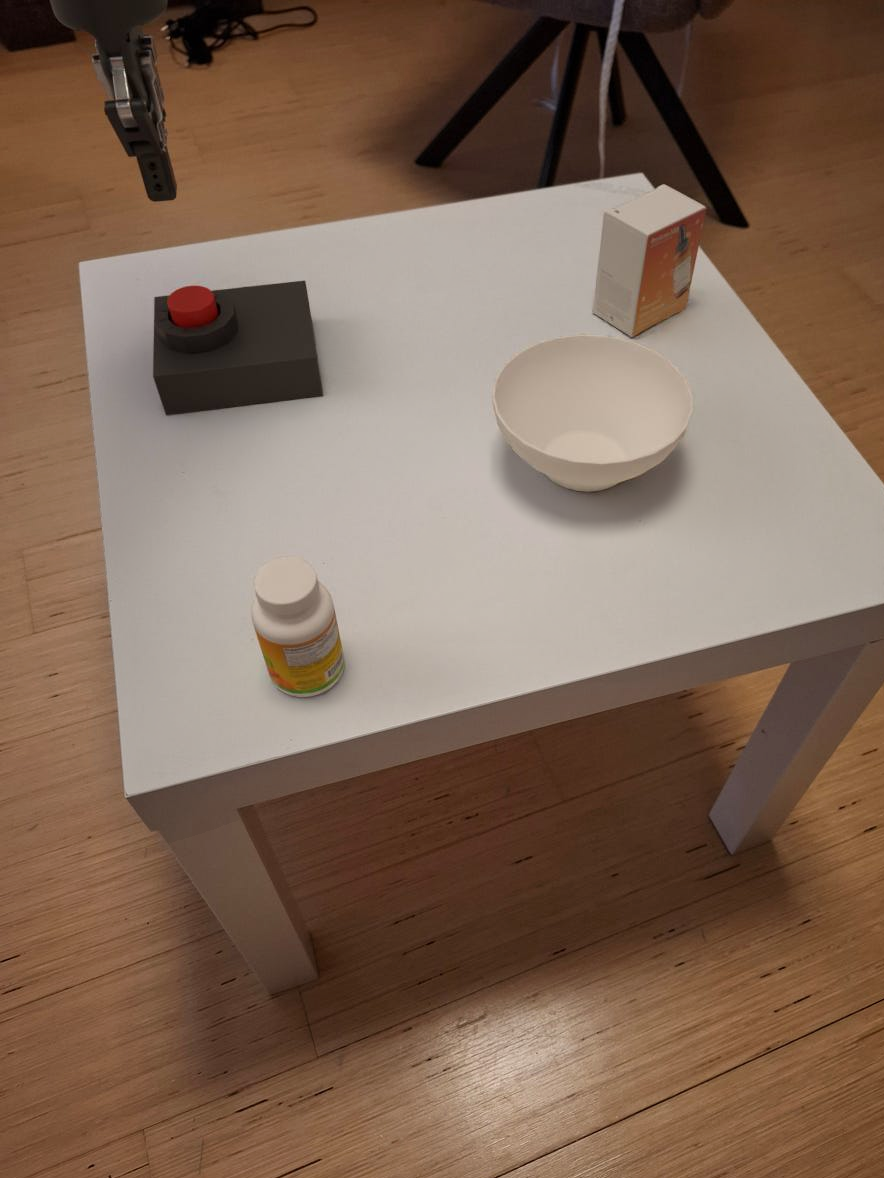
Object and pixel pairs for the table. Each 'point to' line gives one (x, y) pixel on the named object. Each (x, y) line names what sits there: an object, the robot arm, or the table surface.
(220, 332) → the red push button box
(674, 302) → the small box
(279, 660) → the supplement bottle
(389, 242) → the table surface
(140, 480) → the table surface
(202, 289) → the power button
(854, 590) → the table surface
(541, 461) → the bowl
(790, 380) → the table surface
